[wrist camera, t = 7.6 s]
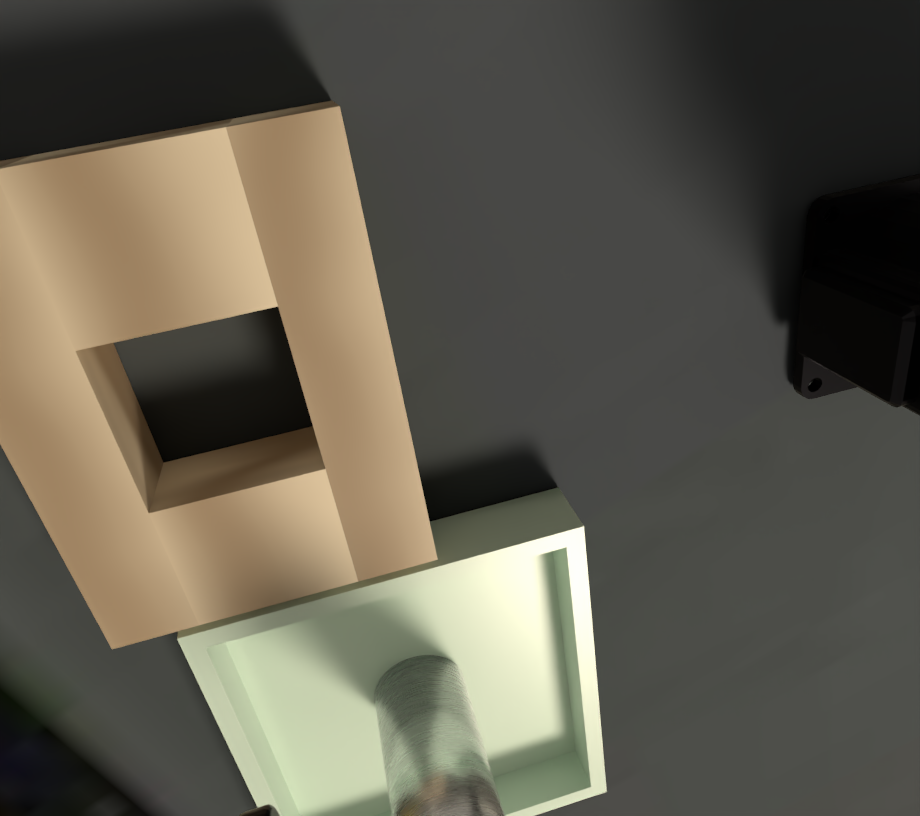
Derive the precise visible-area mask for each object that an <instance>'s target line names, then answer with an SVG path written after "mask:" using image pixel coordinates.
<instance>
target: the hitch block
mask: <svg viewBox="0 0 920 816" xmlns="http://www.w3.org/2000/svg"><path fill="white" fill-rule="evenodd" d="M274 307H278V308H279V311H280V315H281V318H282V322H283V325H284V328H285V332H286V335H287V339H288V342H289V346H290V349H291V352H292V356H293V359H294V363H295V366H296V370H297V373H298V376H299V380H300V383H301V387H302V390H303V394H304V397H305V400H306V404H307V407H308V411H309V414H310V418H311V421H312V424H313V426H312V427H308V428H304V429H300V430H296V431H291V432H287V433H283V434H279V435H275V436H271V437H267V438H263V439H259V440H254V441H250V442H246V443H242V444H238V445H234V446H230V447H226V448H222V449H217V450H213V451H209V452H205V453H201V454H197V455H193V456H189V457H185V458H180V459H176V460H172V461H168V462H163V460H162V458H161V455H160V453H159V451H158V448H157V446H156V443H155V441H154V439H153V436H152V434H151V432H150V429H149V427H148V424H147V422H146V420H145V417H144V415H143V413H142V410H141V408H140V405H139V403H138V401H137V398H136V396H135V394H134V391H133V389H132V386H131V384H130V382H129V379H128V377H127V375H126V372H125V370H124V367H123V365H122V363H121V360H120V358H119V356H118V353H117V351H116V348H115V346H114V344H113V343H114V342H119V341H123V340H128V339H132V338H137V337H141V336H146V335H150V334H155V333H160V332H164V331H169V330H173V329H178V328H182V327H187V326H191V325H196V324H201V323H205V322H210V321H214V320H219V319H223V318H228V317H233V316H237V315H242V314H246V313H251V312H255V311H260V310H264V309H269V308H274ZM0 444H1V446H2V448H3V450H4V452H5V454H6V455H7V457H8V459H9V461H10V463H11V465H12V466H13V468H14V470H15V472H16V474H17V476H18V477H19V479H20V481H21V483H22V485H23V487H24V489H25V490H26V492H27V494H28V496H29V498H30V500H31V501H32V503H33V505H34V507H35V509H36V511H37V512H38V514H39V516H40V518H41V520H42V522H43V523H44V525H45V527H46V529H47V531H48V533H49V534H50V536H51V538H52V540H53V542H54V544H55V545H56V547H57V549H58V551H59V553H60V555H61V556H62V558H63V560H64V562H65V564H66V566H67V567H68V569H69V571H70V573H71V575H72V577H73V578H74V580H75V582H76V584H77V586H78V588H79V589H80V591H81V593H82V595H83V597H84V599H85V600H86V602H87V604H88V606H89V608H90V610H91V611H92V613H93V615H94V617H95V619H96V621H97V622H98V624H99V626H100V628H101V630H102V632H103V634H104V635H105V637H106V639H107V641H108V643H109V645H110V646H111V648H112V649H115V648H119V647H122V646H126V645H130V644H133V643H137V642H141V641H144V640H148V639H151V638H155V637H159V636H162V635H166V634H170V633H173V632H177V631H181V630H184V629H188V628H191V627H195V626H199V625H202V624H206V623H210V622H213V621H217V620H221V619H224V618H228V617H231V616H235V615H239V614H242V613H246V612H250V611H253V610H257V609H260V608H264V607H268V606H271V605H275V604H279V603H282V602H286V601H290V600H293V599H297V598H300V597H304V596H308V595H311V594H315V593H319V592H322V591H326V590H330V589H333V588H337V587H340V586H344V585H348V584H351V583H355V582H359V581H362V580H366V579H370V578H373V577H377V576H380V575H384V574H388V573H391V572H395V571H399V570H402V569H406V568H410V567H413V566H417V565H420V564H424V563H428V562H431V561H435V560H438V558H437V554H436V549H435V544H434V540H433V535H432V531H431V526H430V521H429V517H428V512H427V507H426V503H425V498H424V494H423V489H422V484H421V480H420V475H419V470H418V466H417V461H416V457H415V452H414V447H413V443H412V438H411V433H410V429H409V424H408V420H407V415H406V410H405V406H404V401H403V396H402V392H401V387H400V383H399V378H398V373H397V369H396V364H395V359H394V355H393V350H392V346H391V341H390V336H389V332H388V327H387V322H386V318H385V313H384V309H383V304H382V299H381V295H380V290H379V285H378V281H377V276H376V272H375V267H374V262H373V258H372V253H371V248H370V244H369V239H368V235H367V230H366V225H365V221H364V216H363V211H362V207H361V202H360V198H359V193H358V188H357V184H356V179H355V174H354V170H353V165H352V161H351V156H350V151H349V147H348V142H347V137H346V133H345V128H344V124H343V119H342V114H341V110H340V106H339V105H337V104H336V103H335V102H333V101H326V102H321V103H315V104H310V105H304V106H299V107H293V108H288V109H282V110H277V111H271V112H266V113H260V114H255V115H249V116H244V117H238V118H233V119H227V120H222V121H216V122H211V123H206V124H200V125H195V126H189V127H184V128H178V129H173V130H167V131H162V132H156V133H151V134H145V135H140V136H134V137H129V138H123V139H118V140H112V141H107V142H101V143H96V144H90V145H85V146H79V147H74V148H69V149H63V150H58V151H52V152H47V153H41V154H36V155H30V156H25V157H19V158H14V159H8V160H3V161H0Z"/></svg>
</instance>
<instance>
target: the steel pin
mask: <svg viewBox="0 0 920 816" xmlns="http://www.w3.org/2000/svg"><path fill="white" fill-rule="evenodd" d="M374 701H375V708H376V714H377V721H378V728H379V735H380V742H381V749H382V755H383V762H384V769H385V776H386V783H387V790H388V797H389V803H390V810H391V816H505V815H504V812H503V809H502V805H501V802H500V798H499V795H498V792H497V788H496V785H495V782H494V778H493V775H492V772H491V768H490V765H489V761H488V758H487V755H486V751H485V748H484V745H483V741H482V738H481V734H480V731H479V728H478V724H477V721H476V718H475V714H474V711H473V708H472V704H471V701H470V697H469V694H468V691H467V687H466V684H465V681H464V677H463V674H462V672H461V670H460V668H459V667H458V666H457V665H456V664H455V663H454V662H452V661H451V660H449V659H447V658H444V657H441V656H436V655H422V656H416V657H412V658H409V659H406V660H403V661H401V662H399V663H397V664H396V665H394V666H393V667H391V668H390V669H389V670H388V671H386V672H385V673H384V674H383V676H382V677H381V678H380V680H379V681H378V683H377V685H376V688H375V692H374Z"/></svg>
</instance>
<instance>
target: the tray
mask: <svg viewBox="0 0 920 816" xmlns="http://www.w3.org/2000/svg"><path fill="white" fill-rule="evenodd" d="M430 526H431V531H432V535H433V540H434V544H435V549H436V554H437V558H438V560H435V561H431V562H428V563H424V564H420V565H417V566H413V567H410V568H406V569H402V570H399V571H395V572H391V573H388V574H384V575H380V576H377V577H373V578H370V579H366V580H362V581H359V582H355V583H351V584H348V585H344V586H340V587H337V588H333V589H330V590H326V591H322V592H319V593H315V594H311V595H308V596H304V597H300V598H297V599H293V600H290V601H286V602H282V603H279V604H275V605H271V606H268V607H264V608H260V609H257V610H253V611H250V612H246V613H242V614H239V615H235V616H231V617H228V618H224V619H221V620H217V621H213V622H210V623H206V624H202V625H199V626H195V627H191V628H188V629H184V630H181V631H178V636H177V640H178V642H179V644H180V646H181V648H182V650H183V652H184V655H185V657H186V659H187V661H188V663H189V665H190V667H191V669H192V671H193V673H194V675H195V678H196V680H197V682H198V684H199V686H200V688H201V690H202V692H203V694H204V696H205V698H206V701H207V703H208V705H209V707H210V709H211V711H212V713H213V715H214V717H215V719H216V721H217V724H218V726H219V728H220V730H221V732H222V734H223V736H224V738H225V740H226V742H227V744H228V747H229V749H230V751H231V753H232V755H233V757H234V759H235V761H236V763H237V765H238V767H239V770H240V772H241V774H242V776H243V778H244V780H245V782H246V784H247V786H248V788H249V790H250V793H251V795H252V797H253V799H254V801H255V803H256V805H257V807H261V806H264V805H267V804H270V805H272V806H274V807H275V808H276V810H277V811H278V813H279V815H280V816H391V810H390V803H389V797H388V790H387V783H386V776H385V769H384V762H383V755H382V749H381V742H380V735H379V728H378V721H377V714H376V708H375V701H374V692H375V688H376V685H377V683H378V681H379V680H380V678H381V677H382V676H383V674H384V673H385V672H386V671H388V670H389V669H390V668H391V667H393V666H394V665H396V664H397V663H399V662H401V661H403V660H406V659H409V658H412V657H416V656H422V655H436V656H441V657H444V658H447V659H449V660H451V661H452V662H454V663H455V664H456V665H457V666H458V667H459V668H460V670H461V672H462V674H463V677H464V681H465V684H466V687H467V691H468V694H469V697H470V701H471V704H472V708H473V711H474V714H475V718H476V721H477V724H478V728H479V731H480V734H481V738H482V741H483V745H484V748H485V751H486V755H487V758H488V761H489V765H490V768H491V772H492V775H493V778H494V782H495V785H496V788H497V792H498V795H499V798H500V802H501V805H502V809H503V812H504V815H505V816H535V815H538V814H541V813H544V812H547V811H550V810H553V809H556V808H559V807H562V806H565V805H568V804H571V803H574V802H577V801H580V800H583V799H586V798H589V797H592V796H595V795H598V794H601V793H604V792H607V791H606V779H605V768H604V756H603V744H602V733H601V721H600V709H599V697H598V686H597V674H596V662H595V651H594V639H593V627H592V616H591V604H590V592H589V581H588V569H587V557H586V546H585V534H584V526H583V524H582V523H581V521H580V520H579V518H578V517H577V515H576V514H575V512H574V511H573V509H572V507H571V506H570V504H569V503H568V501H567V500H566V498H565V497H564V495H563V494H562V492H561V491H560V489H559V488H554V489H550V490H546V491H543V492H539V493H535V494H531V495H528V496H524V497H520V498H516V499H513V500H509V501H505V502H501V503H498V504H494V505H490V506H486V507H483V508H479V509H475V510H471V511H468V512H464V513H460V514H457V515H453V516H449V517H445V518H442V519H438V520H434V521H430Z"/></svg>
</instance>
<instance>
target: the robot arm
mask: <svg viewBox="0 0 920 816" xmlns="http://www.w3.org/2000/svg"><path fill="white" fill-rule="evenodd" d="M829 208H830V214H829V216H828V217H827V219H826V220H824V215H825V212H826V211H827V210H828V209H829ZM812 379H814V380H813V382H812V383H811V384H810V385H809V383H810V381H811V380H812ZM808 385H809V386H808ZM793 386H794V389H795V391H796V392H797V393H799V394H800V395H802V396H803V397H805V398H808V399H813V398H817V397H821V396H825V395H829V394H833V393H836V392H840V391H844V390H848V389H852V388H855V387H859V388H861V389H863V390H864V391H866V392H868V393H870V394H872V395H873V396H875V397H877V398H879V399H880V400H882V401H884V402H886V403H888V404H889V405H891V406H894V407H900V406H903V407H905V408H907V409H909V410H910V411H912V412H914V413H916V414H918V415H920V174H918V175H914V176H909V177H905V178H900V179H896V180H891V181H887V182H882V183H878V184H873V185H869V186H864V187H860V188H855V189H851V190H846V191H841V192H837V193H832V194H828V195H824V196H821V197H819V198H817V199H816V200H815V201H814V202H813V203H812V205H811V206H810V208H809V211H808V215H807V223H806V235H805V248H804V260H803V272H802V280H801V292H800V304H799V316H798V328H797V340H796V356H795V368H794V380H793ZM239 816H280V815H279V813H278V811H277V810H276V808H275V807H274V806H272V805H270V804H267V805H264V806H261V807H258V808H255V809H252V810H249V811H246V812H244V813H242V814H240V815H239Z"/></svg>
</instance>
